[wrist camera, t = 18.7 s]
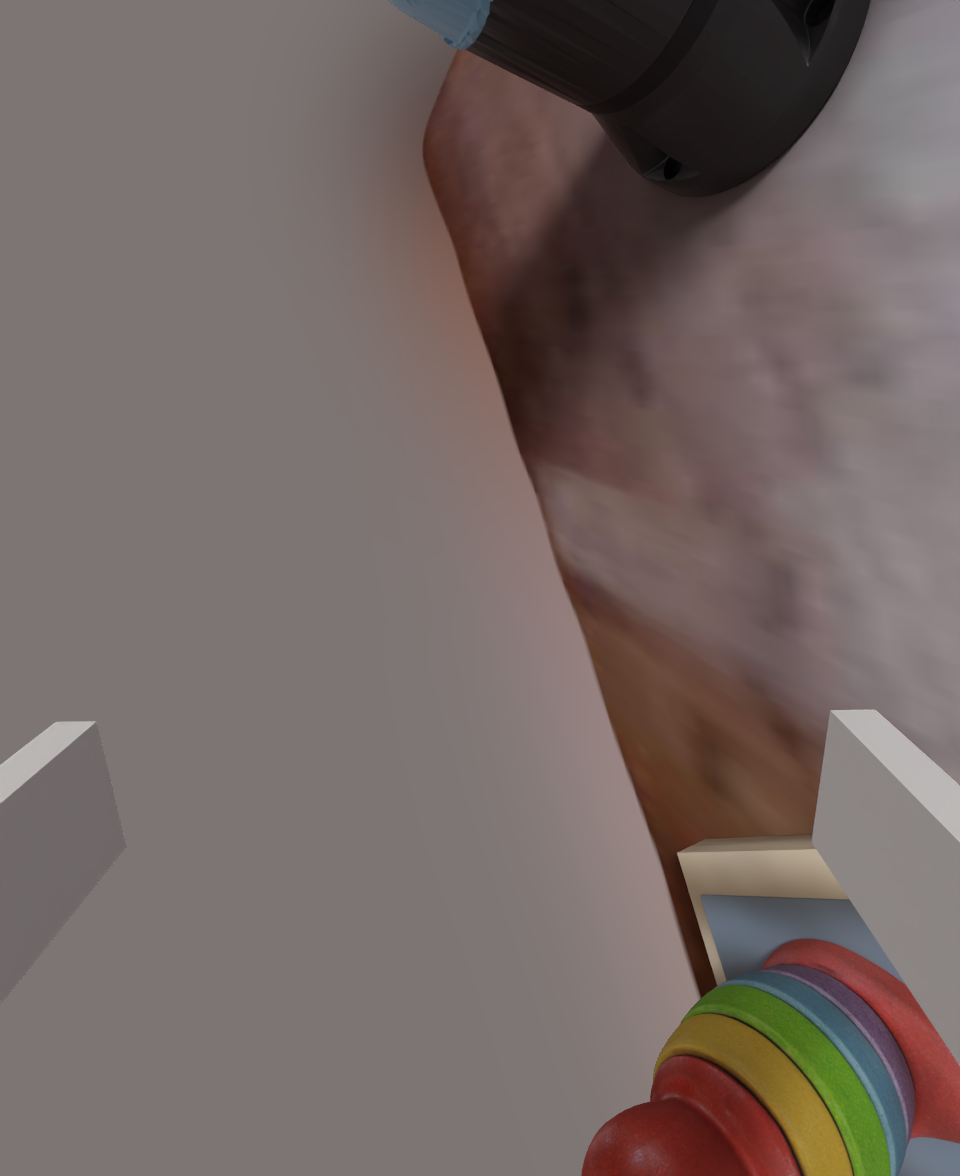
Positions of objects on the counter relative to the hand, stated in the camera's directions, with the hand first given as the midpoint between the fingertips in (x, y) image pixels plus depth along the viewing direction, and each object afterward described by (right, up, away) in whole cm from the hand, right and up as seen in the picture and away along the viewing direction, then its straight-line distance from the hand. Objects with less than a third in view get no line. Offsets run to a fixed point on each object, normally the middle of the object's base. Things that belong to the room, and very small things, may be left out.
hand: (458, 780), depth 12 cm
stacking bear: (+20, -19, +22) cm, 35 cm away
